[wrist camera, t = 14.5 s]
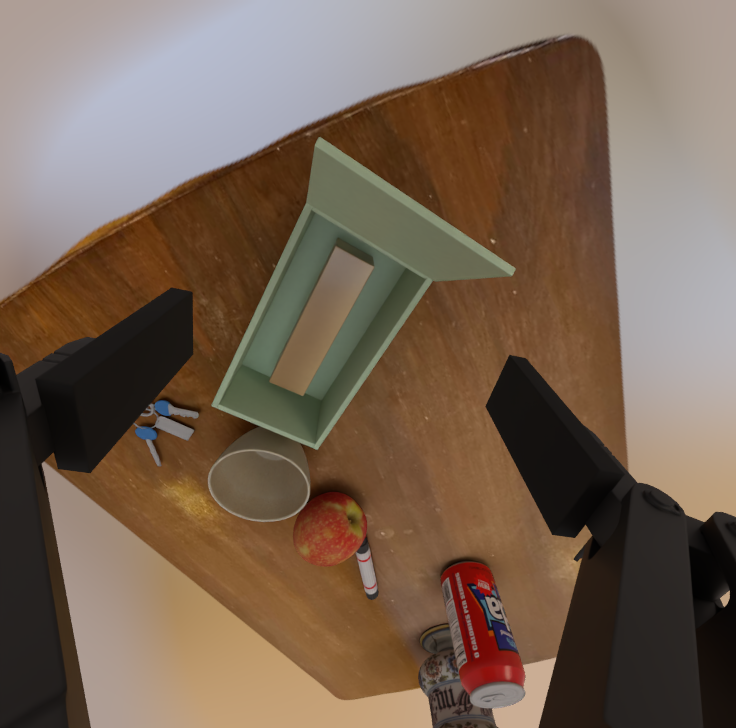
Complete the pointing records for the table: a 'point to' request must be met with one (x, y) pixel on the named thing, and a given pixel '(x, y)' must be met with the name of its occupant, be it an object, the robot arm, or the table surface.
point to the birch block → (322, 316)
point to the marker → (367, 570)
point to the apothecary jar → (448, 685)
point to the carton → (348, 351)
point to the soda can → (482, 637)
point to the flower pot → (261, 477)
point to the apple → (329, 529)
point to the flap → (395, 220)
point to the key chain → (165, 424)
